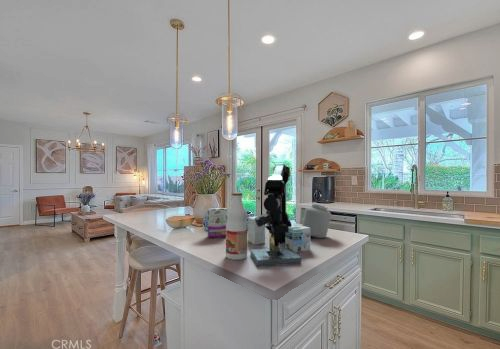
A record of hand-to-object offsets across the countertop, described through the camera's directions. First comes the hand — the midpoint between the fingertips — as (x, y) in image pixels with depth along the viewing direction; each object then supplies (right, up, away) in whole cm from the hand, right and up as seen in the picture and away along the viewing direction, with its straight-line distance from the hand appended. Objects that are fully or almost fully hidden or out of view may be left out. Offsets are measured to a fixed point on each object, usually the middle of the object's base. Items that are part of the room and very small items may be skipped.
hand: (274, 244), depth 101 cm
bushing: (0, -2, 0) cm, 2 cm away
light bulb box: (+13, -7, +14) cm, 20 cm away
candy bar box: (-30, -6, +37) cm, 48 cm away
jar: (+29, -7, +38) cm, 49 cm away
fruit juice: (-16, -6, +3) cm, 18 cm away
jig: (0, -6, 0) cm, 6 cm away
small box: (-7, -6, +26) cm, 28 cm away
